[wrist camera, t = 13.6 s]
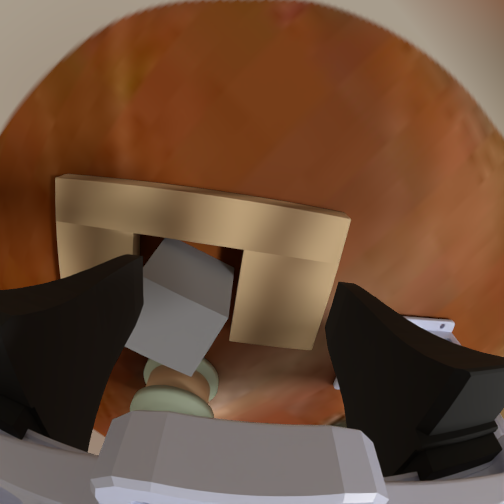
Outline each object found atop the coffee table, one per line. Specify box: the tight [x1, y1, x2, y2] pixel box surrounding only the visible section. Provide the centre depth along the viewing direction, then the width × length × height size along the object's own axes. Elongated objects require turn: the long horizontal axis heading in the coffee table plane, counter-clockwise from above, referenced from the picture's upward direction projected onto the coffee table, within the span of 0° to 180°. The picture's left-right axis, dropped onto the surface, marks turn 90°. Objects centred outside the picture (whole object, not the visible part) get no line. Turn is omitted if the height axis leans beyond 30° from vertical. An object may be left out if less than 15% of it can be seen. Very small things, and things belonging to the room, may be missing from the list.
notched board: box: [55, 174, 351, 350], centre depth 20 cm, size 19×10×2 cm, turn 81°
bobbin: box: [130, 358, 219, 418], centre depth 23 cm, size 6×6×5 cm
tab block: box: [125, 238, 235, 377], centre depth 19 cm, size 5×5×6 cm
